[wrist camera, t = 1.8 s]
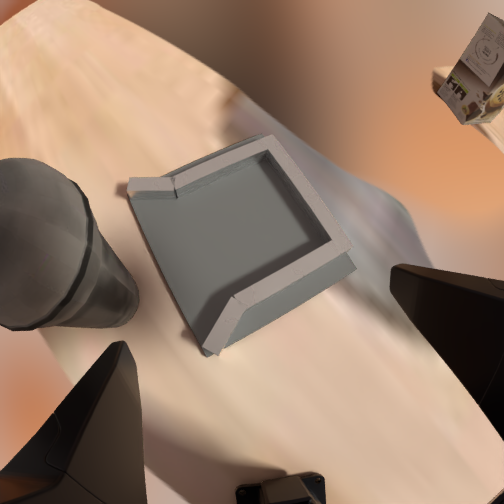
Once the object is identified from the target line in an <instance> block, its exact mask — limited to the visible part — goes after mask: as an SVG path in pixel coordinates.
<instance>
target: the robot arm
mask: <svg viewBox="0 0 504 504" xmlns="http://www.w3.org/2000/svg"><path fill="white" fill-rule="evenodd" d="M390 292H391V294H392V295H393V297H394V298H395V299H396V301H397V302H398V304H399V305H400V306H401V308H402V309H403V311H404V312H405V313H406V315H407V316H408V318H409V319H410V320H411V322H412V323H413V324H414V326H415V327H416V328H417V329H418V330H419V332H420V333H421V334H422V335H423V336H424V338H425V339H426V340H427V341H428V342H429V343H430V345H431V346H432V347H433V348H434V349H435V351H436V352H437V353H438V354H439V356H440V357H441V358H442V359H443V360H444V362H445V363H446V364H447V365H448V367H449V368H450V369H451V370H452V372H453V373H454V374H455V375H456V377H457V378H458V379H459V381H460V382H461V383H462V384H463V386H464V387H465V388H466V390H467V391H468V392H469V394H470V395H471V396H472V398H473V399H474V400H475V402H476V403H477V404H478V405H479V407H480V409H481V410H482V411H483V413H484V414H485V415H486V417H487V418H488V420H489V421H490V422H491V424H492V425H493V427H494V428H495V429H496V431H497V432H498V434H499V435H500V437H501V438H502V440H503V441H504V281H502V280H495V279H489V278H484V277H478V276H473V275H467V274H461V273H456V272H450V271H444V270H438V269H432V268H426V267H421V266H415V265H409V264H398V265H395V266H393V267H392V268H391V275H390ZM317 478H320V480H319V481H318V482H315V480H316V479H317ZM240 490H245V491H246V492H245V493H240V492H239V491H240ZM235 494H236V500H237V504H326V494H325V479H324V477H323V476H322V475H321V474H313V475H308V476H303V477H298V476H291V477H285V478H279V479H272V480H265V481H263V482H262V483H258V484H249V485H240V486H238V487H237V488H236V489H235ZM0 504H147V495H146V485H145V474H144V458H143V438H142V409H141V400H140V393H139V384H138V376H137V367H136V363H135V360H134V358H133V356H132V354H131V352H130V350H129V348H128V345H127V343H126V342H125V341H117V342H113V343H111V344H110V345H109V347H108V348H107V349H106V350H105V351H104V352H103V354H102V355H101V356H100V357H99V358H98V359H97V360H96V362H95V363H94V364H93V365H92V366H91V368H90V369H89V370H88V371H87V372H86V373H85V375H84V376H83V377H82V378H81V379H80V381H79V382H78V383H77V384H76V385H75V386H74V388H73V389H72V390H71V391H70V393H69V394H68V395H67V396H66V397H65V399H64V400H63V401H62V402H61V404H60V405H59V406H58V407H57V408H56V410H55V411H54V413H52V414H51V416H50V417H49V418H48V419H47V421H46V422H45V423H44V424H43V425H42V427H41V428H40V429H39V430H38V431H37V433H36V434H35V435H34V436H33V437H32V438H31V439H30V440H29V441H28V443H27V444H26V445H25V446H24V447H23V448H22V449H21V450H20V451H19V452H18V453H17V454H16V455H15V456H14V458H13V459H12V460H11V461H10V462H9V463H8V464H7V465H6V466H5V467H4V468H3V469H2V470H1V471H0ZM488 504H504V488H503V489H502V490H501V491H500V492H499V493H498V494H497V495H496V496H495V497H494V498H493V499H492V500H491V501H490V502H489V503H488Z"/></svg>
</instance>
